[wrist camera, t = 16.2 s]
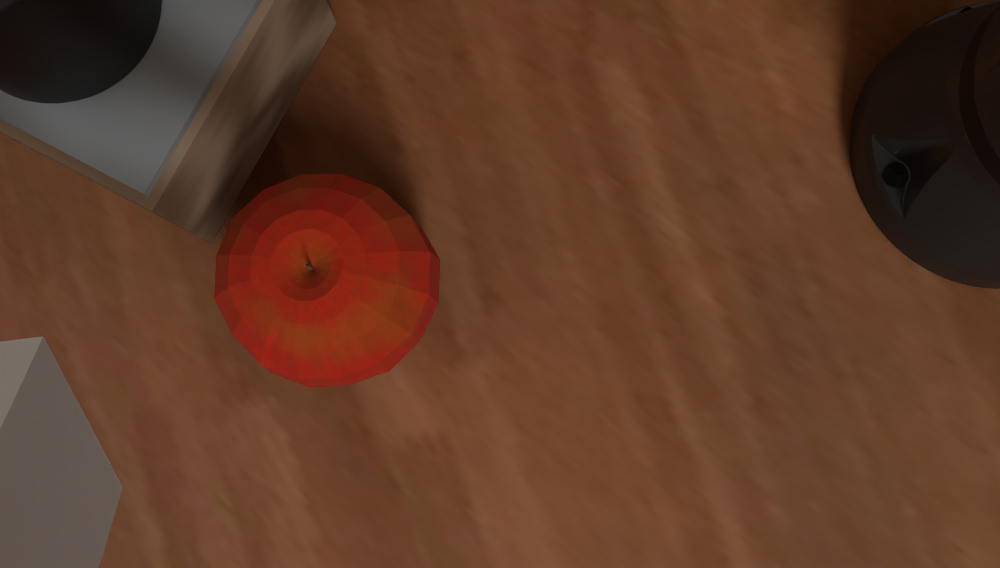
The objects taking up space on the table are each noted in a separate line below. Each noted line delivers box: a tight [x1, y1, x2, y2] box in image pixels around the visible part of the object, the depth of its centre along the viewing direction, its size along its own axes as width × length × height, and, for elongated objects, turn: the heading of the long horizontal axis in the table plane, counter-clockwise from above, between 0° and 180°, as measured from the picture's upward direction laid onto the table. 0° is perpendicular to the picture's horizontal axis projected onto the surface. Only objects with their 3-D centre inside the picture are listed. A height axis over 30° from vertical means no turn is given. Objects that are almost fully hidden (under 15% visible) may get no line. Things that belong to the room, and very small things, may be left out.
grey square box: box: [0, 0, 336, 243], centre depth 47 cm, size 14×14×9 cm
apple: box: [214, 174, 440, 387], centre depth 44 cm, size 10×10×12 cm
